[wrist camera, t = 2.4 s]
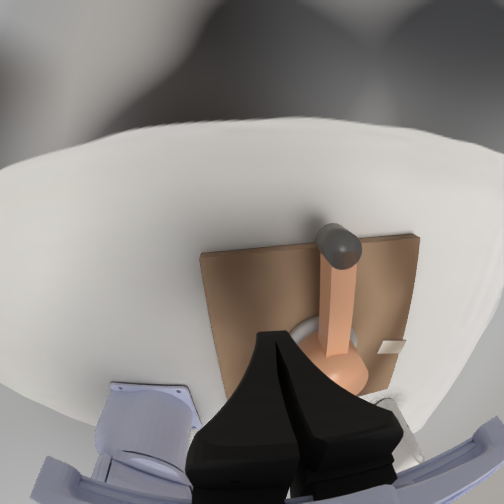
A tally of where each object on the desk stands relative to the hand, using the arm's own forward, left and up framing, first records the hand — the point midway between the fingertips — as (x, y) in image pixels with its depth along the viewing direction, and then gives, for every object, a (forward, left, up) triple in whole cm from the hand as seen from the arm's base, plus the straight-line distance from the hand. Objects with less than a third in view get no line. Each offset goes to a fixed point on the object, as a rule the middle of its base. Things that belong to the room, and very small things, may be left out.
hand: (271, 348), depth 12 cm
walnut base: (+5, -8, -10) cm, 13 cm away
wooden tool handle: (+5, -3, -7) cm, 9 cm away
